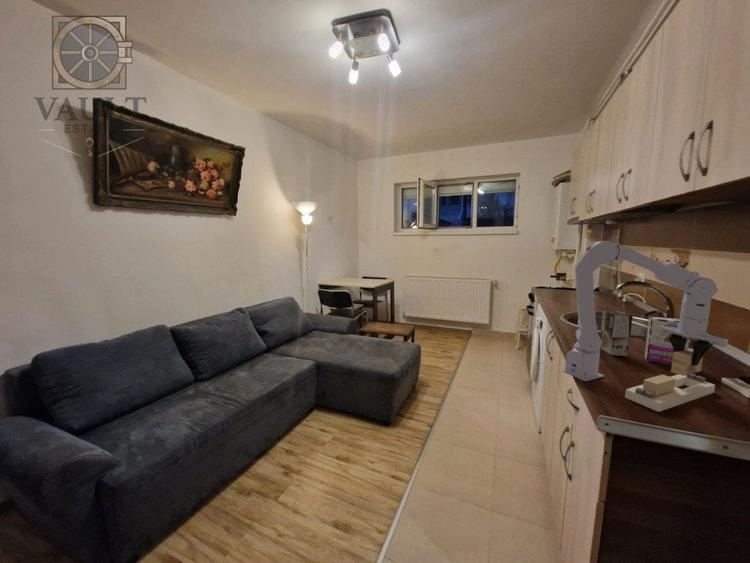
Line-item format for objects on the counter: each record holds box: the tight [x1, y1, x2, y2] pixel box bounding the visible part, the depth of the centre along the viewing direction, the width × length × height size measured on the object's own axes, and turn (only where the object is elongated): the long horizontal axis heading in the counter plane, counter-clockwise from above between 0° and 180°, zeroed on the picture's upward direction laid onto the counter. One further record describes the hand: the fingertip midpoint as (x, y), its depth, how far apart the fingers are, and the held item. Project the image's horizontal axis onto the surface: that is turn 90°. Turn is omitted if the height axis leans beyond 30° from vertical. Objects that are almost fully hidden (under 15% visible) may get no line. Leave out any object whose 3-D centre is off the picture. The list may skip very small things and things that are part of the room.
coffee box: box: [599, 309, 634, 357], centre depth 125 cm, size 9×6×16 cm
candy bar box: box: [644, 316, 692, 366], centre depth 114 cm, size 11×5×16 cm, turn 58°
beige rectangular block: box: [670, 347, 704, 376], centre depth 93 cm, size 9×3×6 cm, turn 112°
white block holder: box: [624, 373, 716, 413], centre depth 91 cm, size 28×8×6 cm, turn 112°
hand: (686, 362), depth 92 cm, fingers closed on beige rectangular block, 3 cm apart
